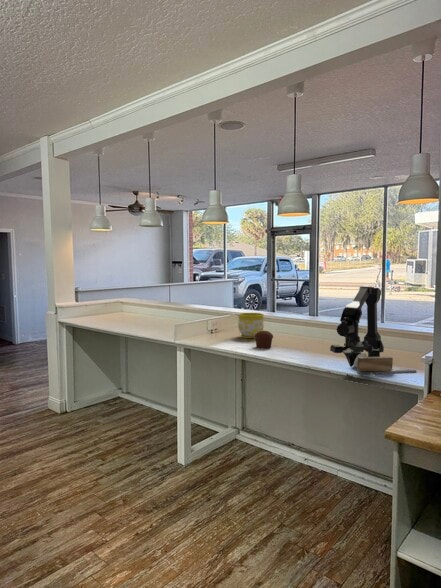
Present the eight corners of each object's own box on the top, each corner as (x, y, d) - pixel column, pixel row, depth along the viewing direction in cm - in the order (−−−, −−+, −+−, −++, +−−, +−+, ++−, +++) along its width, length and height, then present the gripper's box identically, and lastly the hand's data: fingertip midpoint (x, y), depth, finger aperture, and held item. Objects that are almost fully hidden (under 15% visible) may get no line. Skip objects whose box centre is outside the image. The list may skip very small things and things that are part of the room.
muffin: (252, 348, 250) (253, 332, 250) (255, 345, 261) (255, 329, 261) (272, 349, 248) (272, 332, 247) (274, 345, 258) (274, 330, 258)
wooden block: (357, 369, 194) (357, 357, 194) (388, 368, 197) (389, 356, 196) (360, 371, 191) (360, 358, 191) (392, 370, 194) (392, 357, 193)
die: (350, 370, 202) (361, 356, 197) (344, 358, 209) (355, 344, 204) (363, 374, 204) (375, 361, 200) (357, 362, 211) (368, 349, 207)
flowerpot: (232, 336, 290) (232, 313, 289) (251, 334, 302) (251, 311, 300) (250, 340, 276) (250, 316, 275) (269, 337, 288) (269, 314, 287)
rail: (356, 372, 195) (356, 370, 195) (411, 370, 199) (411, 368, 199) (361, 374, 191) (361, 372, 191) (416, 372, 195) (416, 370, 195)
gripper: (340, 337, 182) (339, 371, 183) (379, 335, 184) (378, 370, 186) (330, 332, 192) (329, 365, 194) (367, 331, 195) (366, 364, 196)
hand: (351, 366), depth 192 cm, fingers closed
